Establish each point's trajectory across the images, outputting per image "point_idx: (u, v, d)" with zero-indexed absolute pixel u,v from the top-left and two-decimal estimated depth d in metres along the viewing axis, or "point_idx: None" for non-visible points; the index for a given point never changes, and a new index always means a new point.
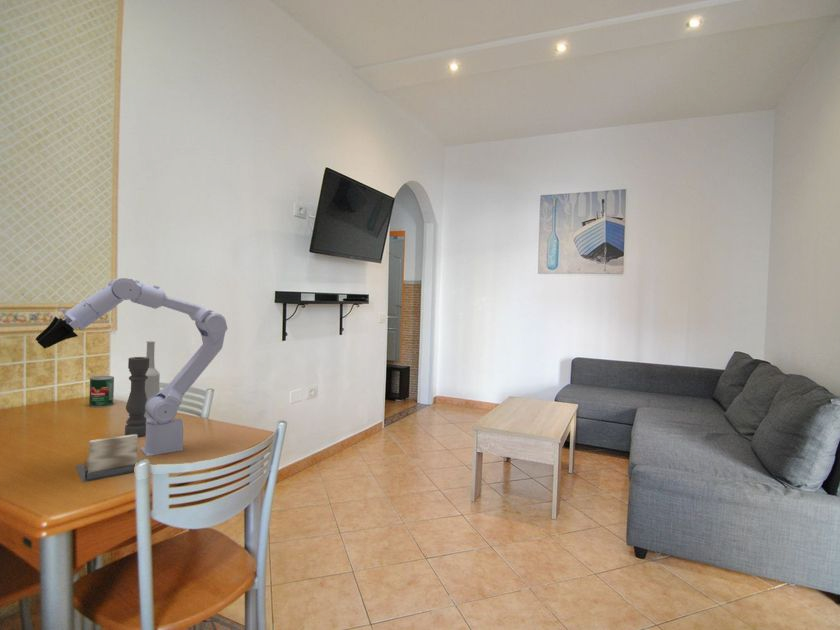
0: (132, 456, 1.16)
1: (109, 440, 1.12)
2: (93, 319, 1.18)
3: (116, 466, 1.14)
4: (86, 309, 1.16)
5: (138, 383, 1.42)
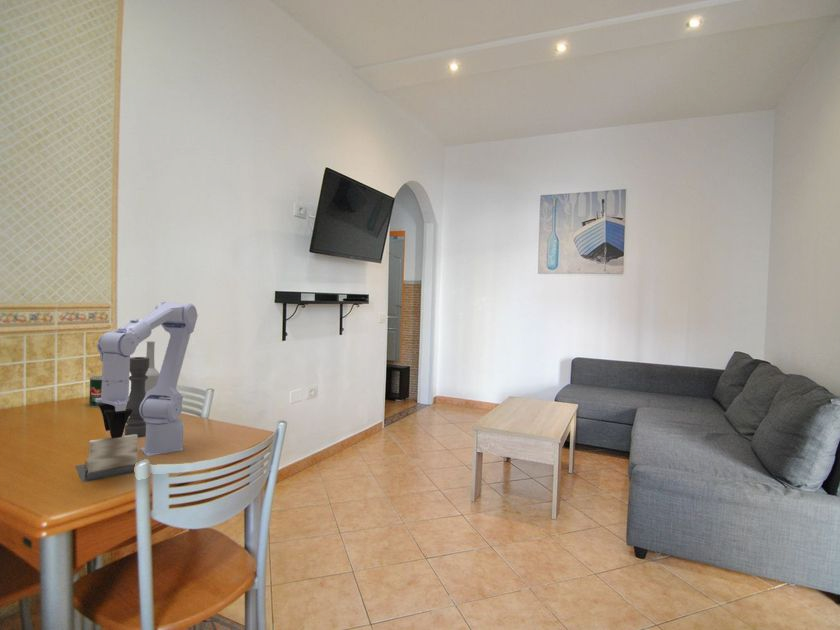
0: (132, 456, 1.16)
1: (109, 440, 1.12)
2: (126, 386, 1.13)
3: (116, 466, 1.14)
4: (113, 386, 1.11)
5: (138, 383, 1.42)
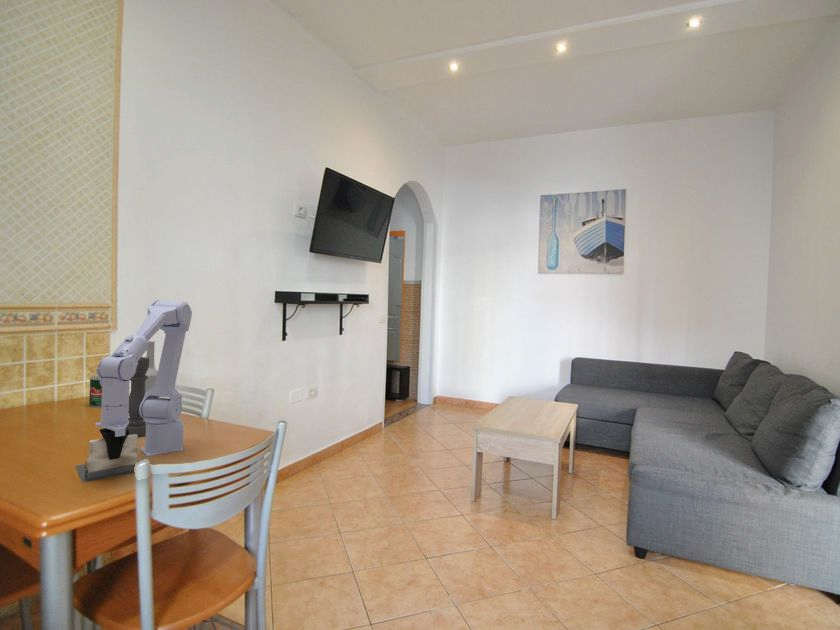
0: (132, 456, 1.16)
1: None
2: (126, 410, 1.14)
3: (116, 466, 1.14)
4: (112, 411, 1.11)
5: (138, 383, 1.42)
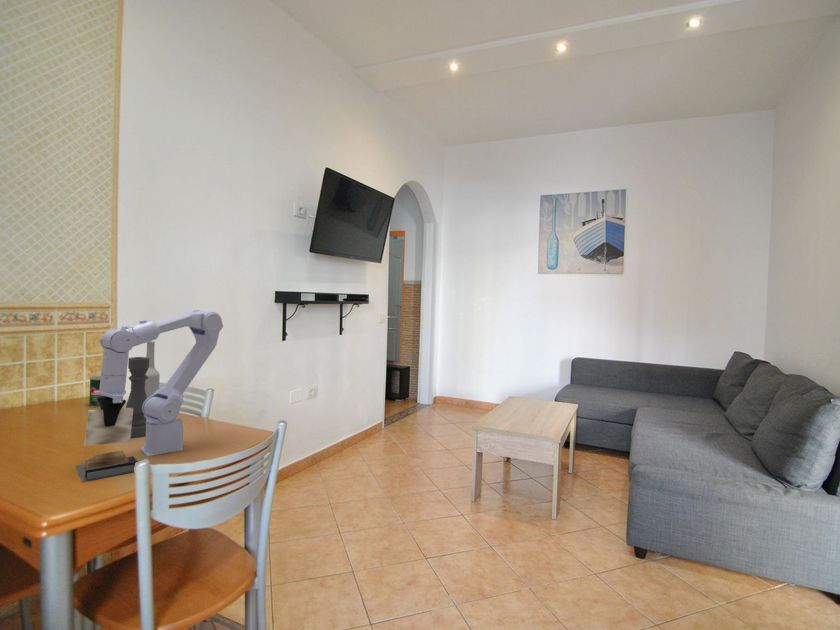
0: (127, 428, 1.23)
1: None
2: (124, 380, 1.21)
3: (111, 436, 1.20)
4: (111, 379, 1.18)
5: (138, 383, 1.42)
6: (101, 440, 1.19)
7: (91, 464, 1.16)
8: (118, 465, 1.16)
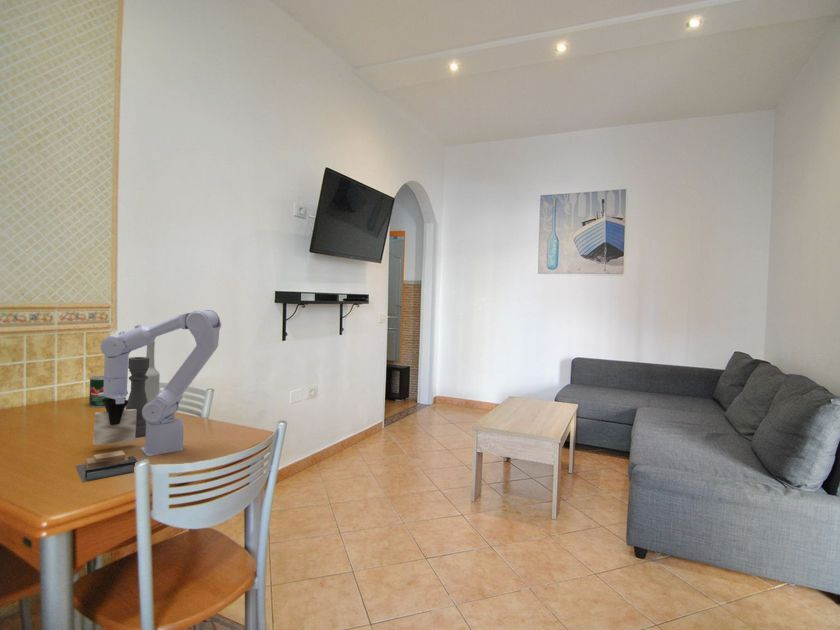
0: (131, 428, 1.33)
1: None
2: (125, 382, 1.31)
3: (117, 436, 1.31)
4: (113, 382, 1.28)
5: (138, 383, 1.42)
6: (108, 439, 1.30)
7: (91, 464, 1.16)
8: (118, 465, 1.16)
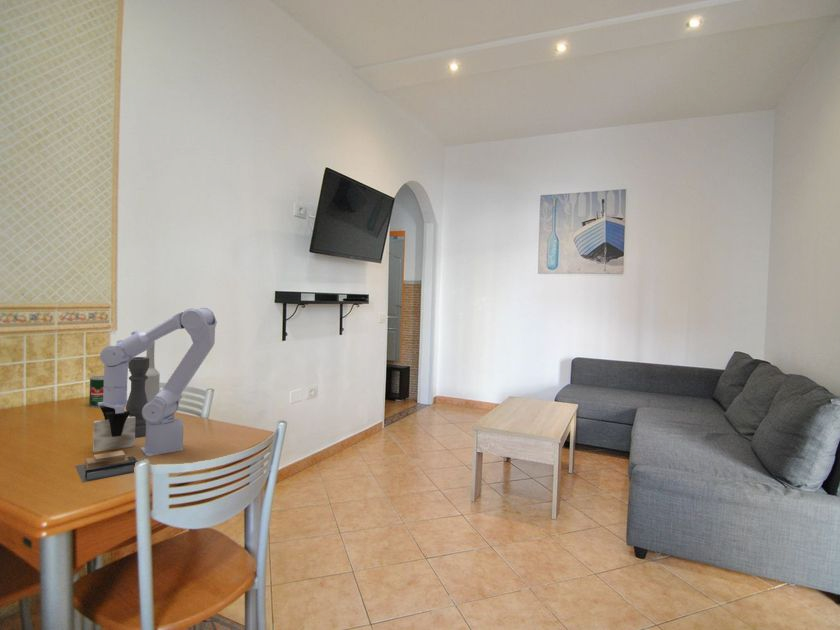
0: (131, 435, 1.33)
1: None
2: (125, 391, 1.31)
3: (117, 444, 1.31)
4: (113, 391, 1.28)
5: (138, 383, 1.42)
6: (108, 447, 1.30)
7: (91, 464, 1.16)
8: (118, 465, 1.16)
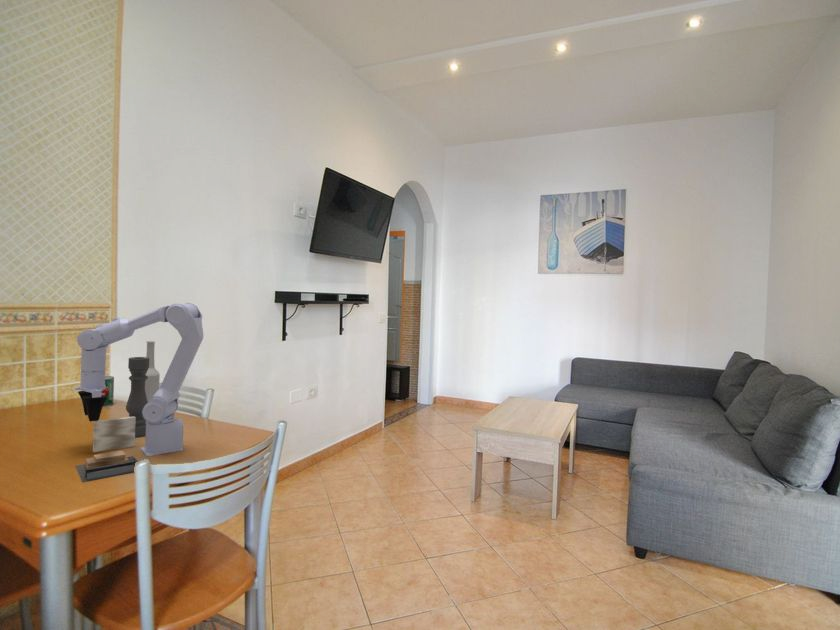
0: (131, 435, 1.33)
1: (111, 421, 1.30)
2: (103, 376, 1.29)
3: (117, 444, 1.31)
4: (90, 376, 1.27)
5: (138, 383, 1.42)
6: (108, 447, 1.30)
7: (91, 464, 1.16)
8: (118, 465, 1.16)
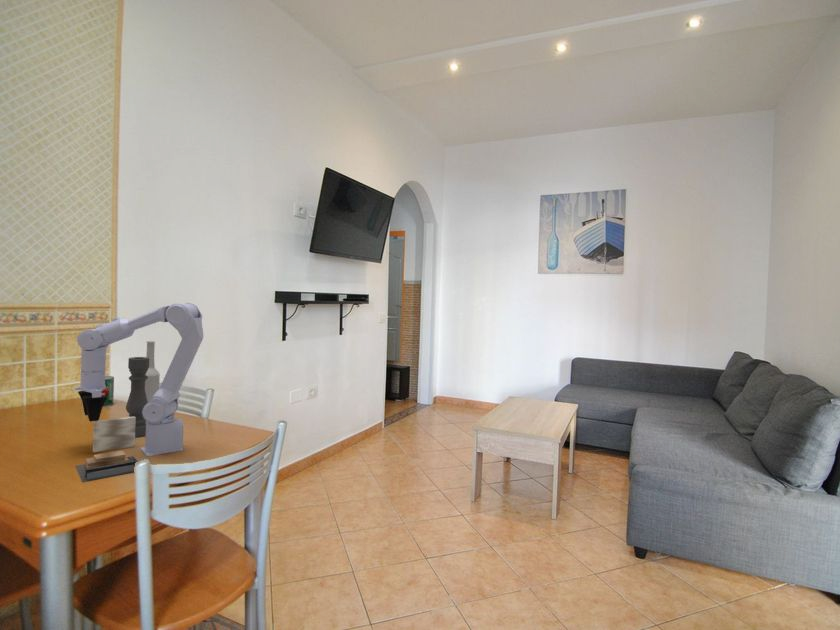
0: (131, 435, 1.33)
1: (111, 421, 1.30)
2: (103, 376, 1.29)
3: (117, 444, 1.31)
4: (90, 376, 1.27)
5: (138, 383, 1.42)
6: (108, 447, 1.30)
7: (91, 464, 1.16)
8: (118, 465, 1.16)
